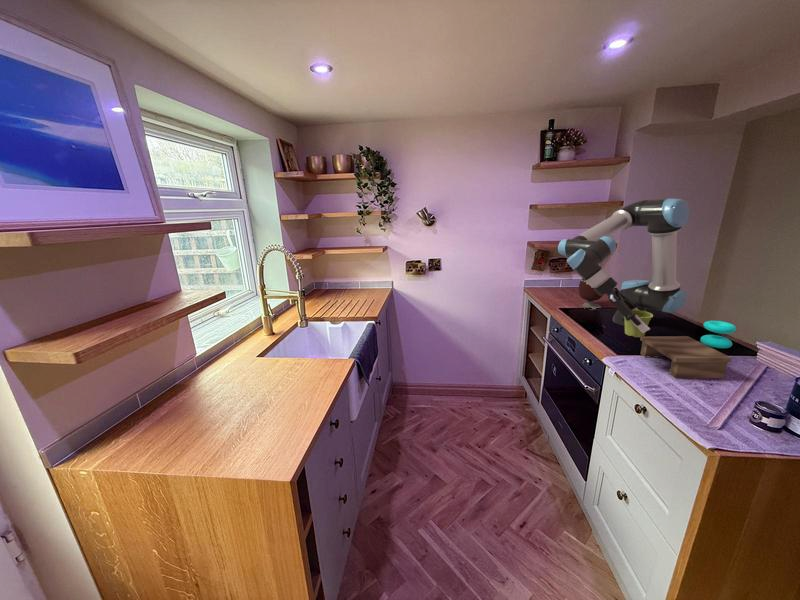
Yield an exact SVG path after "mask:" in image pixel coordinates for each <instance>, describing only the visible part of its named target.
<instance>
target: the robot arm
mask: <svg viewBox="0 0 800 600" xmlns="http://www.w3.org/2000/svg"><path fill="white" fill-rule="evenodd" d="M689 218H690V207H689V204H688V203H687V201H685V200H684V199H682V198H672V197H671V198H670V197H669V198H660V199H641V200H638V201H635V202H632V203H630V204H627V205H626V206H623V207H621V208H619V209H618V210H616V211H614V212H613V213H612V215H611V216H610V217H608V218H606V219H604V220H603V221H601V222H599V223H597V224H595V225H593V226H592V227H590V228H588V229H587V230H586V231H584V232H582V233H580V234H578V235H577V236H575V237H573V238H564V239H562V240H560V241H559V243H558V246H557V251H558V254H560V255H561V256H565V257H568V258H567V259H566V263H567V264H568V265H569V267H570V268H571V269H572V270H573V271H575V273H576V274H578V275H579V276H580V277H581V279H584V280H585V281H586V284H587V285H588V284H589V285H590V286H591V287H592V288H594V290H595V291H596V292H597V293H598V294H599V295H600V296H602V295H603V296H604V295H606V296H608V297H607V298H608V301H609V302H610V303H611V304H612V305H613V306H614V307H615V308H616V309H617V310H616V311H615V313H614V314H613V317H612V322H613V323H614V324H617V325H619V326H623V327H625V321H624V317H625V318H626V320H627V321H628V320H630V321H631V322H632V323H633V324H634V325H635V326H636V327H637V328H638V329H639V330H640V331H641V332H642V333H644V332H645V333H646V332H647V331H650V330H651V327H649V325H648V326H647V325H646V324H645V323H644V322H643V321H642V320H641V319H640V318H639V317H638V316H637V315H635V314H634V313H633V312H632V311H631V310H639V311H645V312H647V310H646V309H650V310H655V311H659V312H662V313H669V314H674V313H677V312H678V311H680V309H681V308H683V306H684V304H685V302H686V301H687V300H686V299H687V298H688V294H687V291H686V290H684V289H681V283H680V282H678V281H677V251H678V249H677V246H678V245H677V244H678V237H677V235H678V232H680V231H681V229H683V228H682V227H683V226H685V225H686V224H687V223H688V221H689ZM631 227H647V233H648V234H650V235H651V266H652V267H651V269H652V271H651V278H652V281H650V280H646V279H630V280H626V281H625V280H624V281H623V282H622V284H621V287H620V290H619V289H618V288H617V286H618V282H617V281H616V280H615V279H614V278H613V277H611V276H610V274H609V272H607V271H606V270H605V269H604V268H603V267H602V266H601V265H600V264H601V263H602V262H603V261H605V260H606V259H607V258H608V257H610V256H611V255H612V253H613V252H615V250H617V242H616V241H615V239H614V238H612V237H611V236H613V235H614V234H616V233H618V232H620V231H622V230H623V231H624V230H627V229H629V228H631ZM603 296H602V297H603ZM628 315H629V316H628Z"/></svg>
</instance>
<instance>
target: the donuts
mask: <svg viewBox="0 0 800 600" xmlns="http://www.w3.org/2000/svg"><path fill="white" fill-rule="evenodd" d="M703 328H704V329H706V330H707V331H708V332H712V333H716V334H705V335H702V336H701V337H700V340H699V342H701V343H703V344H705V345H707V346H709V347H711V348H714V349H715V348H716V349H729V348H731V347H732V346H733V342H732V341H731V340H730V339H729V338H727V337H725V336H723V335H722V336H721V335H717V334H724V335H727V334H728V335H729V334H733V333H734V332H736V331H737V327H736V326H735V325H734V324H733V323H730V322H727V321H722V320H707V321H705V322H704V323H703Z"/></svg>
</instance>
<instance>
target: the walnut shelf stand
mask: <svg viewBox="0 0 800 600" xmlns="http://www.w3.org/2000/svg"><path fill="white" fill-rule="evenodd" d="M640 342H642V343H641V347H640V355H641V356H643V355H644V356H666V357H665V358H668V359H670V360H671V364H670V369H669V373H668V374H669V375H670V376H672V377H673V378H675V379H724V378H725V375H726V371H727V366H728V363H731V362H732V360H733V357H731V356H729V355H727V354H725V353H723V352H721V351H719V350H717V349H715V348H714V347H710V346H707V345H705V344H703V343H702V342H701V341H698V340H696V339H694V338H692V337H690V336H688V335H687V336H686V335H681V336H680V335H677V336H673V335H671V336H667V335H666V336H663V335H662V336H660V335H659V336H643V337H640ZM644 356H643V357H644Z"/></svg>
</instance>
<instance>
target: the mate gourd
mask: <svg viewBox="0 0 800 600" xmlns="http://www.w3.org/2000/svg"><path fill="white" fill-rule="evenodd" d="M578 295H579V296H580V298H581V299H583V300H585V301H587V302H583V303H584V304H583V306H586V307H591V308H592V309H591V310H597V309H596V308H600V309H601V308H602V306H601V305H600V304H598V303H595V301H599V300H600V299H602V297H604V295H602V296H600V295H599V294H598V293H597V292H596V291H595V290H594V288H592V287H591V286H590V285H589V284H588V285H587V284H586V281H585V280H584V279H583V278H581V279H580V281H579V284H578Z"/></svg>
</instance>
